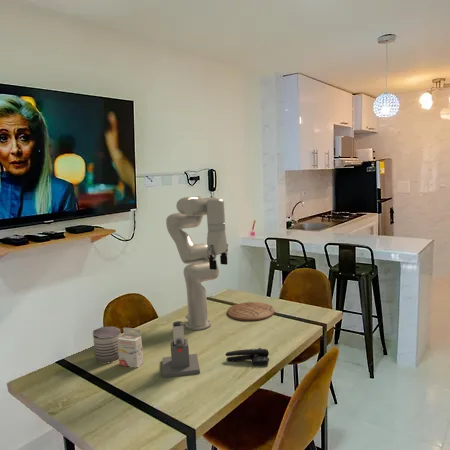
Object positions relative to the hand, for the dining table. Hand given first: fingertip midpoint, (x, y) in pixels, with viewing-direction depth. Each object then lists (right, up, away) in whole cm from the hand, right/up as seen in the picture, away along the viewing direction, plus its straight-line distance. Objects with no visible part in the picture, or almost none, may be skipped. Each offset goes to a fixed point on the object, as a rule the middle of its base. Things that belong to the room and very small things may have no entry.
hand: (218, 266), depth 180 cm
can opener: (+12, -37, -13) cm, 41 cm away
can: (-46, -38, -3) cm, 60 cm away
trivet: (+17, -29, +43) cm, 54 cm away
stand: (-15, -38, -15) cm, 44 cm away
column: (-15, -37, -15) cm, 42 cm away
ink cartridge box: (-35, -39, -11) cm, 54 cm away
